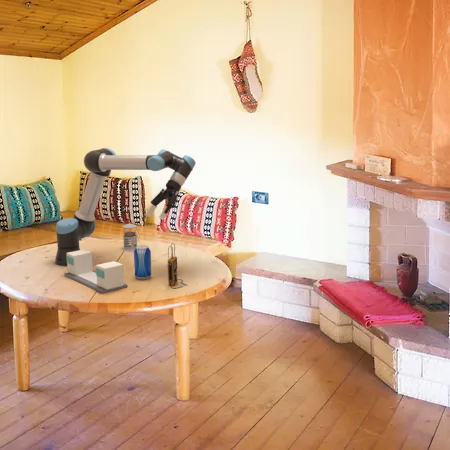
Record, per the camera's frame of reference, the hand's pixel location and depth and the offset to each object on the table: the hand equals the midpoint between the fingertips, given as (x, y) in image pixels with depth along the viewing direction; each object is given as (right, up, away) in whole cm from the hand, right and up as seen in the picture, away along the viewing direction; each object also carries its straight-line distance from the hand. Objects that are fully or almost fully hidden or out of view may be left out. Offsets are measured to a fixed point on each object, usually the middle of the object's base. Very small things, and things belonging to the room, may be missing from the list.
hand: (154, 217), depth 329 cm
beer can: (-6, -31, 0) cm, 31 cm away
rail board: (-29, -32, -5) cm, 43 cm away
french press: (-19, -18, +54) cm, 61 cm away
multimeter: (+14, -33, -11) cm, 38 cm away
